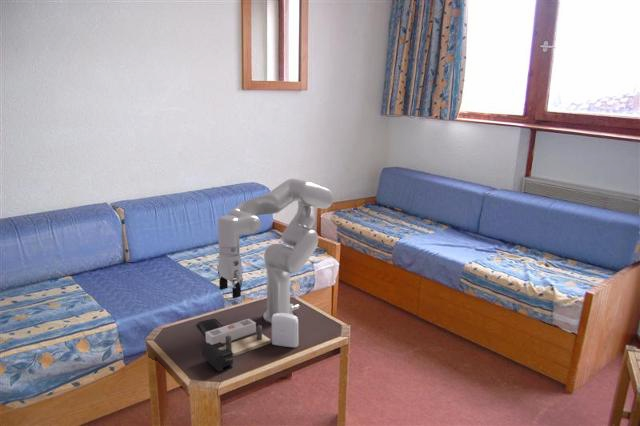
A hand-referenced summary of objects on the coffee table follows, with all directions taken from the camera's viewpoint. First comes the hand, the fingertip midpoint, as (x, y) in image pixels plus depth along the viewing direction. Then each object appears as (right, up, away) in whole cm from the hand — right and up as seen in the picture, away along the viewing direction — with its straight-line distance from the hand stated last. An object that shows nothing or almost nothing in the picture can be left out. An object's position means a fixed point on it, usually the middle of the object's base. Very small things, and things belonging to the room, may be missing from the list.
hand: (230, 292), depth 187 cm
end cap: (-2, -23, -15) cm, 27 cm away
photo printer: (+21, -19, 0) cm, 28 cm away
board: (+6, -20, -3) cm, 21 cm away
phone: (-9, -17, +10) cm, 21 cm away
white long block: (0, -18, +4) cm, 18 cm away
